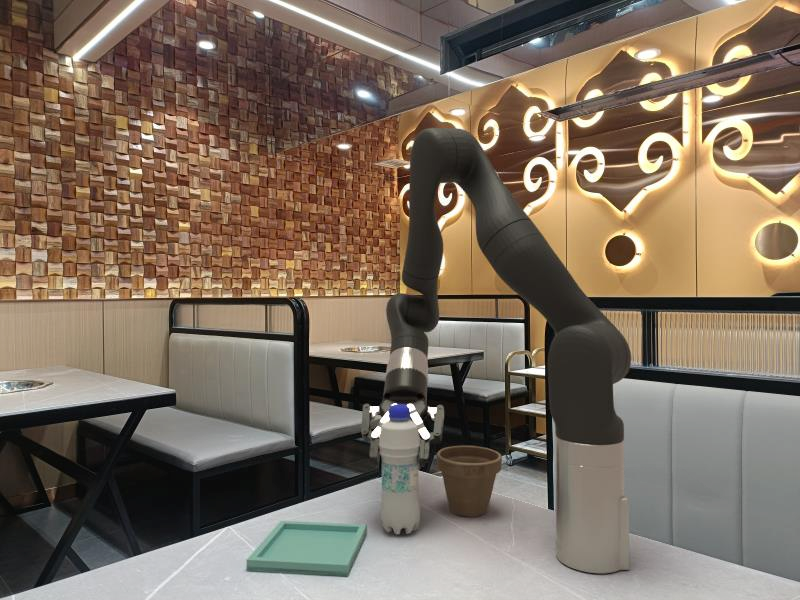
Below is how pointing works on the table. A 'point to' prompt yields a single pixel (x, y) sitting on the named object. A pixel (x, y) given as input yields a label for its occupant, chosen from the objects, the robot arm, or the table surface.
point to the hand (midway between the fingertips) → (398, 463)
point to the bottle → (399, 471)
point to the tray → (309, 548)
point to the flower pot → (468, 477)
